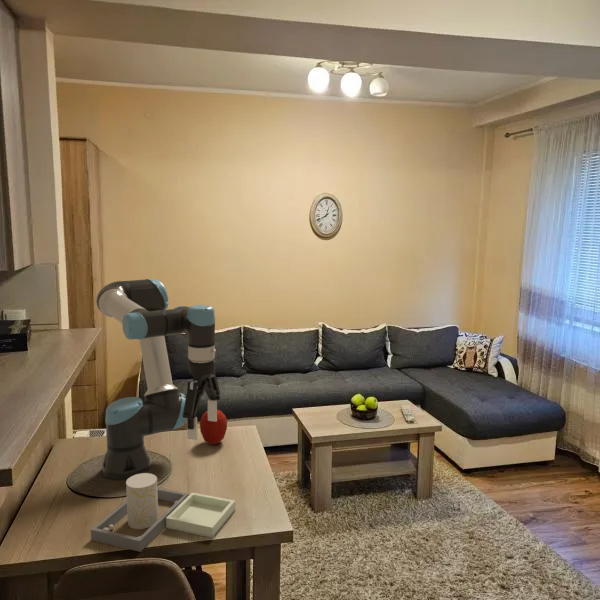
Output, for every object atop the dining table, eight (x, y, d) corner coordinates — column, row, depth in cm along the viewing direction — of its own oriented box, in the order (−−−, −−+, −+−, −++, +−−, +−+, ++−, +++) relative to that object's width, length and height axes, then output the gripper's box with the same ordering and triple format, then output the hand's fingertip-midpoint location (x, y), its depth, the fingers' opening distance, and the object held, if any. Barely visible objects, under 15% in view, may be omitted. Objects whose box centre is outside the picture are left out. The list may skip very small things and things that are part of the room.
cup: (129, 532, 139) (127, 490, 137) (126, 516, 146) (124, 476, 144) (160, 525, 142) (159, 484, 140) (156, 510, 149) (154, 471, 148)
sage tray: (166, 528, 141) (166, 517, 140) (192, 501, 154) (192, 492, 153) (212, 538, 136) (212, 527, 136) (235, 510, 150) (235, 500, 149)
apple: (226, 448, 190) (226, 412, 188) (198, 449, 189) (198, 412, 187) (228, 436, 200) (227, 402, 198) (201, 437, 199) (201, 402, 197)
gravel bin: (91, 540, 135) (90, 529, 135) (145, 494, 158) (145, 485, 157) (140, 551, 131) (140, 541, 130) (189, 503, 153) (188, 493, 153)
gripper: (194, 373, 136) (195, 449, 139) (230, 349, 160) (230, 415, 163) (168, 370, 138) (170, 445, 141) (208, 347, 162) (208, 412, 165)
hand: (202, 429), depth 152 cm, fingers open, 13 cm apart
